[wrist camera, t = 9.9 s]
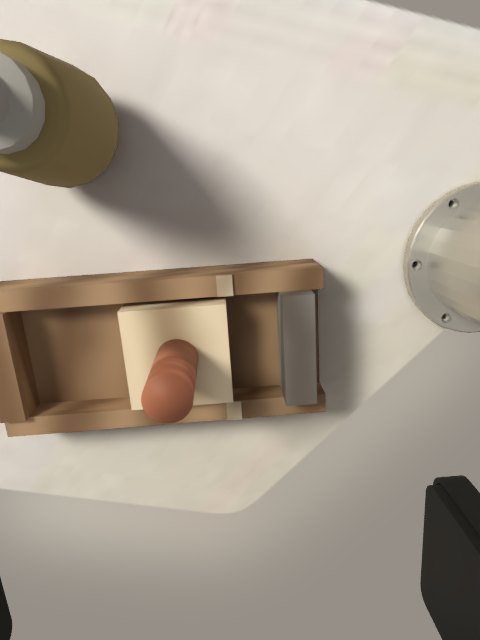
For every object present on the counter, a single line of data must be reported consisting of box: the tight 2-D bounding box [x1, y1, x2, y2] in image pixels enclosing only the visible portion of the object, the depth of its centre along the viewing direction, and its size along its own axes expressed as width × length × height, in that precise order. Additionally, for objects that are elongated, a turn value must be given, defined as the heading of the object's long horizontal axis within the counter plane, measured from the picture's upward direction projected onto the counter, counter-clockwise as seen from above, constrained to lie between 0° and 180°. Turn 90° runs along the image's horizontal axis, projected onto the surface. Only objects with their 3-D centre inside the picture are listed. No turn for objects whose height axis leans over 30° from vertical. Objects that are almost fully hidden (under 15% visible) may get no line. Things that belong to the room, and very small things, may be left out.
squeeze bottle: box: [0, 39, 119, 188], centre depth 27 cm, size 8×8×18 cm
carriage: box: [117, 296, 233, 423], centre depth 33 cm, size 8×8×10 cm
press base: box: [0, 259, 326, 437], centre depth 37 cm, size 26×12×6 cm, turn 94°
